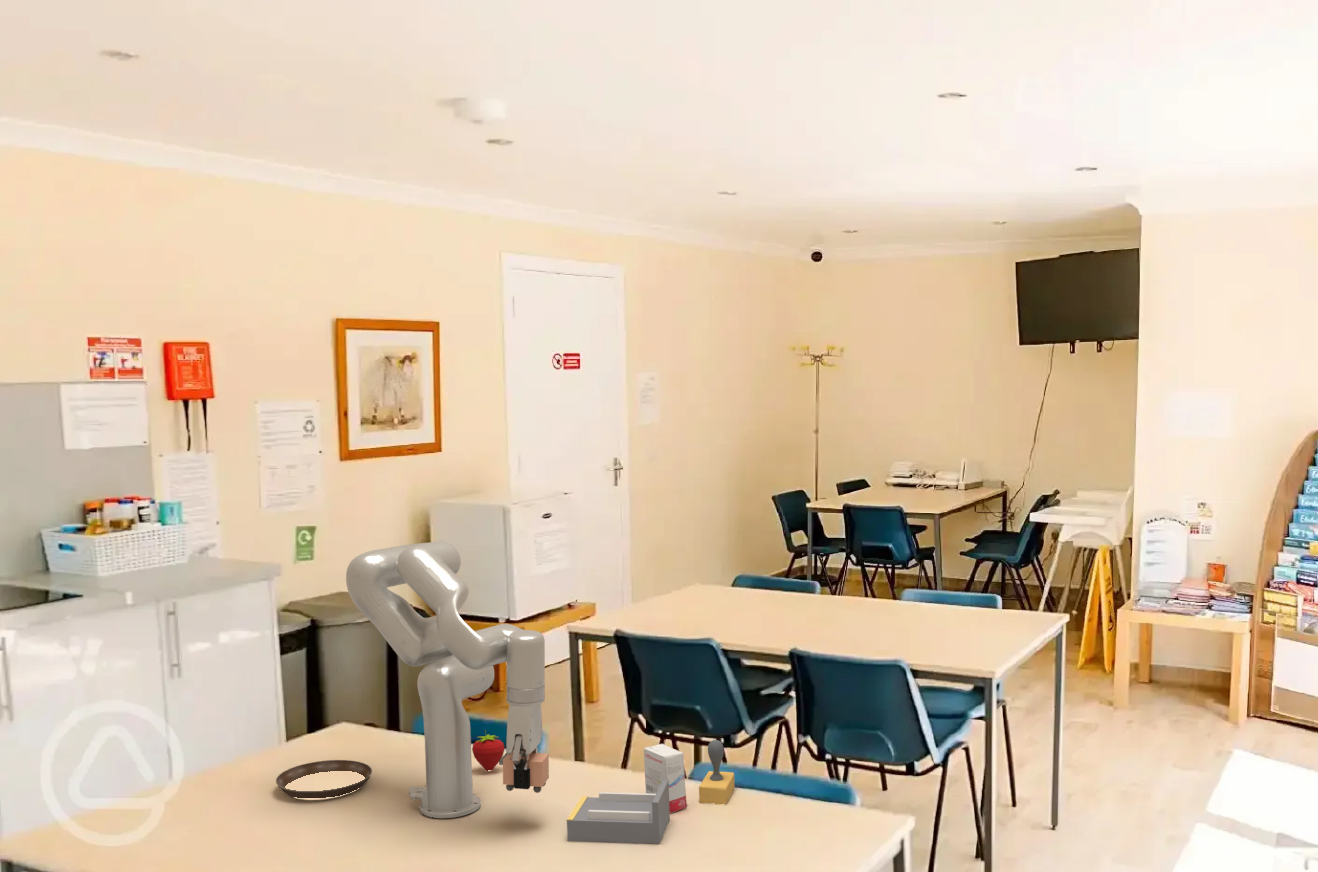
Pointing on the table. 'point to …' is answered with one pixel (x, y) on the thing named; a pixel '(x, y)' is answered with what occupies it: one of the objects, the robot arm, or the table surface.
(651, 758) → the ink box
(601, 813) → the loading dock
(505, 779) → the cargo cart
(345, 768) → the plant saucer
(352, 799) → the table surface
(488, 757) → the strawberry
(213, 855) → the table surface
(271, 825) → the table surface
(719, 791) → the rubber stamp
